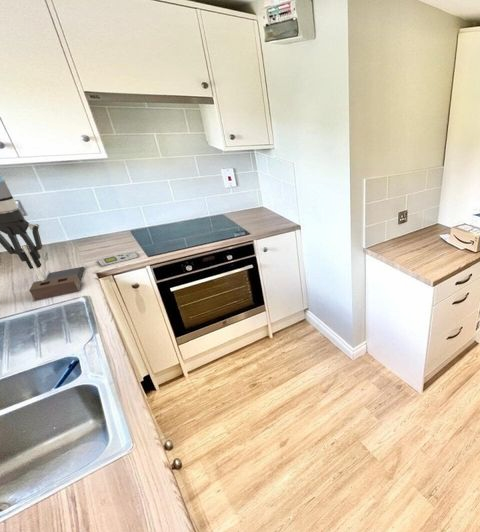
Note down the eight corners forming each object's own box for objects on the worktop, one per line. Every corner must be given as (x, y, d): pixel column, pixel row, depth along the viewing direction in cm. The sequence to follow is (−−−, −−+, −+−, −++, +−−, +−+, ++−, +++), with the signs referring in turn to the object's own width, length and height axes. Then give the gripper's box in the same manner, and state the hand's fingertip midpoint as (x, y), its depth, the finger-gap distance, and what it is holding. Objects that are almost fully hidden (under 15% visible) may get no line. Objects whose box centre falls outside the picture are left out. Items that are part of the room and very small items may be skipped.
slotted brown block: (78, 291, 138) (73, 281, 136) (35, 300, 131) (29, 290, 129) (81, 283, 144) (76, 273, 142) (39, 292, 137) (33, 281, 135)
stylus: (40, 282, 132) (20, 246, 125) (41, 281, 133) (22, 245, 126) (45, 281, 133) (26, 245, 126) (46, 280, 134) (27, 244, 127)
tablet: (42, 289, 139) (41, 287, 138) (50, 274, 150) (49, 272, 150) (79, 282, 145) (78, 279, 145) (84, 268, 157) (83, 266, 156)
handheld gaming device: (137, 255, 168) (101, 264, 158) (138, 256, 169) (101, 266, 159) (133, 250, 174) (97, 259, 163) (133, 252, 174) (98, 260, 164)
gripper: (34, 205, 126) (61, 259, 137) (-21, 211, 119) (12, 267, 129) (29, 210, 121) (58, 266, 132) (-29, 216, 113) (7, 275, 124)
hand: (35, 266), depth 130 cm, fingers closed on stylus, 1 cm apart
